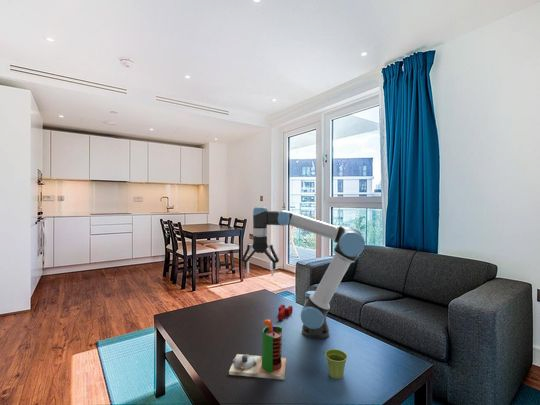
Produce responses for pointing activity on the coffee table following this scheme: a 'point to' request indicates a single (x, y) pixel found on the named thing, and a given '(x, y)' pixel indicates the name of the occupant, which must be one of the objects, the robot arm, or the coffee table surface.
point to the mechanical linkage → (284, 312)
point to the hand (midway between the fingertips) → (260, 274)
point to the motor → (271, 347)
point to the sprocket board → (255, 367)
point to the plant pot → (336, 362)
